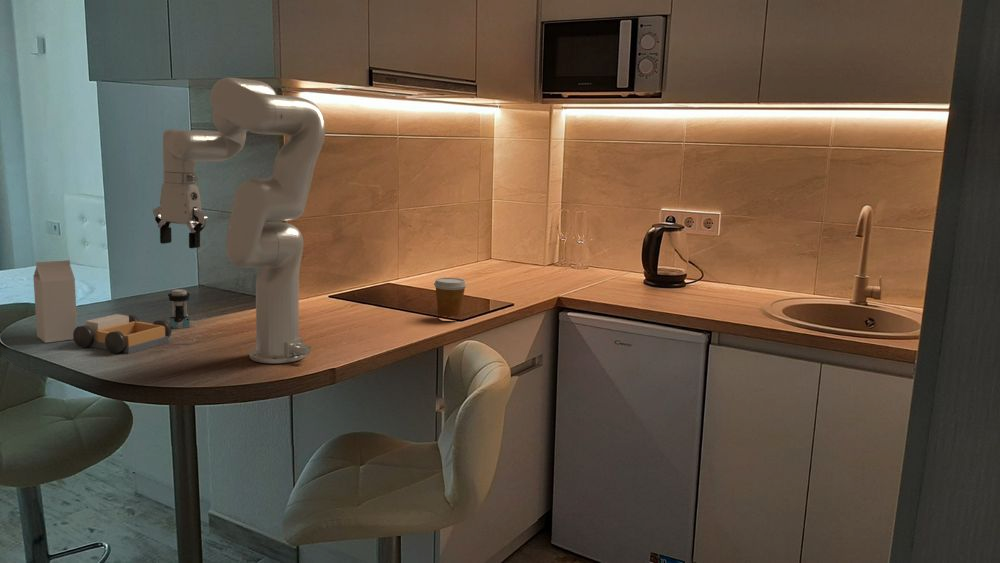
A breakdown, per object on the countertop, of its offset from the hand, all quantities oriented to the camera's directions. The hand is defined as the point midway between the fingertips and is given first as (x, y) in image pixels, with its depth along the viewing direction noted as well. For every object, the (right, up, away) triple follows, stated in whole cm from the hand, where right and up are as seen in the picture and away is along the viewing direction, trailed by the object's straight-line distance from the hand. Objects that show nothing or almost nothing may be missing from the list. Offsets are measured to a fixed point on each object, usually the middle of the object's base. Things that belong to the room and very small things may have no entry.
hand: (180, 245), depth 194 cm
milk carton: (-25, -23, -12) cm, 36 cm away
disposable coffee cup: (+68, -21, +29) cm, 77 cm away
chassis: (-8, -24, -13) cm, 29 cm away
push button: (-1, -22, +5) cm, 22 cm away
